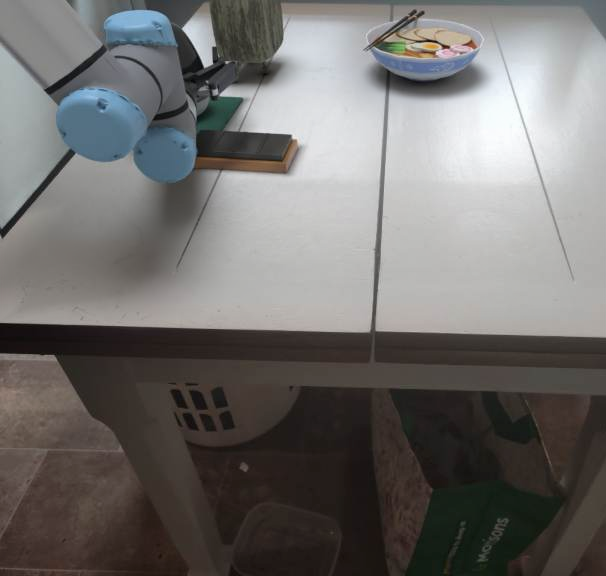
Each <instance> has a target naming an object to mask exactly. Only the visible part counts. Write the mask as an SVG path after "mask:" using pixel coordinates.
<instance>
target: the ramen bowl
mask: <svg viewBox="0 0 606 576" xmlns="http://www.w3.org/2000/svg"><path fill="white" fill-rule="evenodd" d="M425 13H426V11H425V10H420V11H419V12H418V10H417V9H413V10H411V11H410V12H408V13H407V15H405V16H404V17H402V18H401V19H400V20H399V19H398V20H393V21H389V22H384V23H382V24H380V25H377V26H374V27H372V28H370V30H369V31H368V32H367V33H366V34H365V35H364V37H365V40H366V44H367V46H366V47H365V48H364V49H363V50H362V51H365V52H368V51H370V52H371V54H372V55H373V57H374V59H375V60H376V61H377V62H378V64H380V65H381V66H382V67H384V68H385V69H387V70H388V71H390V72H391V73H392V74H394V75H395V76H396V75H397V76H400V77H403V78H406V79H408V80H410V81H414V82H420V83H427V82H429V83H430V82H434V81H437V80H439V79H444V78H447V77H451V76H453V75H454V74H457V73H458V72H460V71H462V70H464V69H465V68H467V66H469V65H470V64H471V63H472V61H473V60H474V59H475V57H477V55H478V53H479V52H480V49H481V48H482V46H483V43H484V41H485V38H484V36H483V35H482V33H481V32H480V31H479V30H476V29H474V28H473V27H471V26H469V25H466V24H462V23H458V22H456V21H455V22H454V21H450V20H443V19H434V18H433V19H432V18H421V17H423V16H424V15H425Z"/></svg>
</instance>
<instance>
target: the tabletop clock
mask: <svg viewBox="0 0 606 576" xmlns="http://www.w3.org/2000/svg"><path fill="white" fill-rule="evenodd" d="M208 3H209V13H210V20H211V27H212V32H213V38H214V43H215V46H217V52H218V57H224V58H225V62H231V61H235V62H236V64H237V71H238V72H239V71H240V69H241V68H242V66H243V65H244V64H245V63H249V64H250V63H251V64H252V63H253V64H261V65H262V67H261V72H262V74H264V75H268V74H270V72H271V68H270V66H269V65H266V61H267V60H270V59H271V58H273V56H274V55H275V54H276V53H277V52H278V51H279V49H280V48H281V47H282V45H283V42H284V34H285V33H284V19H283V8H282V0H208ZM238 80H239V77H238V78H237V79H236V80H235V81H234V82H233V83H237V82H238Z"/></svg>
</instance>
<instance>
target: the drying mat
mask: <svg viewBox="0 0 606 576" xmlns="http://www.w3.org/2000/svg"><path fill="white" fill-rule="evenodd" d="M243 102H244V98H243V97H242V96H224V95H223V96H221V95H220V96H219V99H218V100H216V101H212V100H211V98H210V97H209V102H208V105H207V107H206V109H205V110H204V112H203V113H201V114H200V115H198V116H197V118H196V135H197V134H198V133H199V131H200V130H218V131H224V129H225V128H226V126H227V125H228V123H229V122H230V120H231V119H232V117H233V116H234V114H235V113H236V111H238V109H239V107H240V105H241V104H242V103H243Z"/></svg>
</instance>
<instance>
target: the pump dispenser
mask: <svg viewBox="0 0 606 576" xmlns="http://www.w3.org/2000/svg"><path fill="white" fill-rule="evenodd" d="M170 23H171V27H172V30H173V34H174V38H175V41H176V43H177V45H178V47H177V51H178V56H179V61H180V66H181V71H182V76H183V75H185V74H187V73H189V72H191V73H196V72H198V71H200V70H202V69H204V68H205V65H204V63H203V61H202V58H201V57H200V54H199V52H198V50H197V49H196V47H195V45H194V43H193V42H192V40H191V39H190V37H189V36H188V35H187V33H186V32H185V31H184V30H183V29H182V27H180V26H179V25H178V24H176V23H174V22H172V21H171V22H170ZM208 102H209V97H208V96H200V98H199V99H198V100H197V116H198V115H200V114H201V113H203V112H204V110H205V109H206V107H207V105H208Z"/></svg>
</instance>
